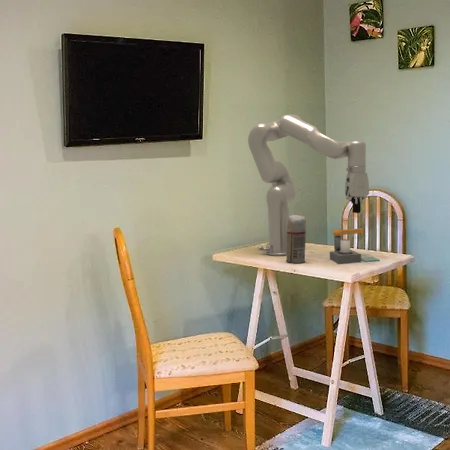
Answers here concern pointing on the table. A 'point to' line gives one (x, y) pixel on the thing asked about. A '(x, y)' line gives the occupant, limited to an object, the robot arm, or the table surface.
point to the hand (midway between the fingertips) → (356, 212)
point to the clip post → (337, 243)
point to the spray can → (296, 239)
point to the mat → (369, 259)
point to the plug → (345, 246)
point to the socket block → (345, 257)
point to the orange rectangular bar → (348, 231)
